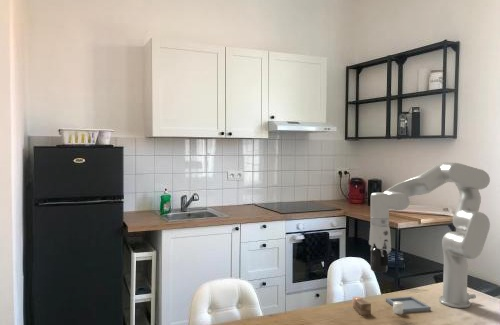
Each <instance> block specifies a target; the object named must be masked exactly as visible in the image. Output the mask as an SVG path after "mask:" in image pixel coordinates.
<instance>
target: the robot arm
mask: <svg viewBox="0 0 500 325" xmlns="http://www.w3.org/2000/svg"><path fill="white" fill-rule="evenodd" d="M490 179H491V177H490V176H489V174H488V172H487V171H485V170H484V169H481V168H477V167H473V166H470V165H465V164H463V163H459V162H440V163H438V164H435V165H434V166H433V167H430V168H429V169H428V170H426V171H424V172H422V173H421V174H419V175H417V176H414V177H412V178H409V179H407V180H403V181H402V182H398V183H396V184H394V185H393V186H391V187H389V188H388V189H385V191H384V192H372V193H371V194H370V213H369V215H370V219H369V220H370V221H369V222H370V228H369V237H368V238H369V240H368V245H369V248H370V249H369V250H370V252H371V249H372V248H374V247H373V244H374V243H375V246H376V247H377V249H379V250H380V252H381V256H380V265H381V266H387V267H388V265H389V259H388V258H389V256H390V253H391V251H392V239H391V238H392V237H391V228H390V225H389V224H390V210H392V211H393V210H394V211H404V210H406V209H407V208H408V207H409V206H410V203H411V202H410V198H409V197H413V196H422V195H426V194H429V193H432V192H433V191H435V190H436V189H438V188H440V187H441V186H443V185H445V184H446V183H453V184H455V186H456V188H457V189H458V191H459V192H458V193H459V199H458V202H457V204H456V205H457V206H456V209H455V211H454V215H453V216H452V217H453V218H452V225H453V226H454V227H455V228H456V229H458V230H461V231H464V232H465V233H462V232H458V231H448V232H446V233H444V235H443V237H442V239H441V246H442V252H443V277H442V278H443V280H442V284H443V285H442V295H441V296H439V297H438V302H439V303H441V304H442V305H445V306H447V307H450V308H456V309H458V308H459V309H467V308H469V307H471V301H470V299H471V300H472V299H476V298H477V295H476V294H475V293H470V294H469V293H468V274H469V273H468V272H469V271H468V268H469V267H468V266H469V265H468V260H473V259H474V260H475V259H477V258H478V257H479V256H480V255H481V254H482V252H483V249H484V248H485V243H486V241H487V238H488V234H489V231H490V228H491V222H490V219H489V217H488V216H487V214H485V213H484V212H481V211H479V210H480V207H481V203H482V197H481V193H480V190H483V189H486V188H487V187H488V186H489V185H490V181H491V180H490ZM383 248H385V249H383ZM383 251H385V252H384V253H383Z"/></svg>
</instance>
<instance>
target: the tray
mask: <svg viewBox="0 0 500 325" xmlns="http://www.w3.org/2000/svg"><path fill="white" fill-rule="evenodd" d="M395 301H398V302H402V303H403V314H404V313H417V312H427V311H429V312H430V311H431V310H432V309H431V308H432V307H431V306H430V305H428V304H426V303H424V302H422V301H421V300H419V299H418V298H415V297H414V296H412V295H411V296H400V297H399V296H398V297H397V296H395V297H386V298H385V302H386V303H388V304H389V305H390V306H392V307H393V302H395Z"/></svg>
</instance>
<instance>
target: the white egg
mask: <svg viewBox="0 0 500 325" xmlns="http://www.w3.org/2000/svg"><path fill="white" fill-rule="evenodd" d="M392 313H393V314H394V315H403V314H404V313H403V303H402V302H398V301H395V302H393V306H392Z"/></svg>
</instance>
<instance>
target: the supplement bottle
mask: <svg viewBox="0 0 500 325" xmlns="http://www.w3.org/2000/svg"><path fill="white" fill-rule="evenodd" d="M373 247H374V248H372V249H371V248H370V249H371V251H370V270H371V271H372V272H375V273H387V271H388V265H387V266H381V265H380V256H381V252H380V250H379V249H377V247H376V246H375V243H374V244H373ZM383 249H385V248H383ZM384 252H385V251H383V253H384Z"/></svg>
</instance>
